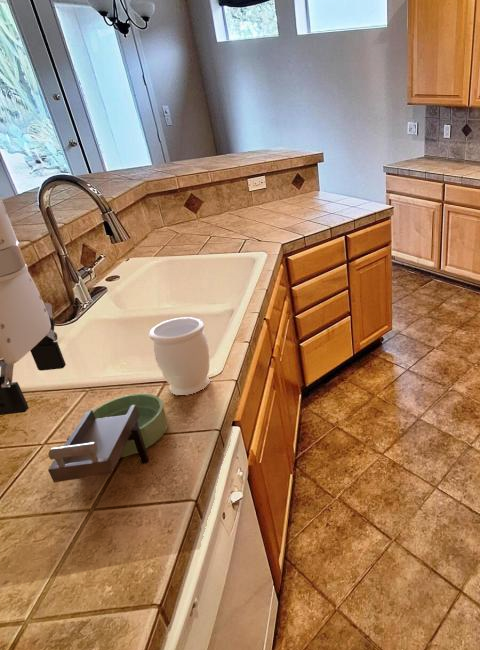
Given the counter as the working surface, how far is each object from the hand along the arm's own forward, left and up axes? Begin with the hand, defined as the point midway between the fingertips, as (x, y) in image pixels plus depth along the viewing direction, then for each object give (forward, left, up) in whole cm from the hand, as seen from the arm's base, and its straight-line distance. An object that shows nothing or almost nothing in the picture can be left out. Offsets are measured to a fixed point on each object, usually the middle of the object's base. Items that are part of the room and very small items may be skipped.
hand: (34, 388), depth 56 cm
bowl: (0, +19, -24) cm, 31 cm away
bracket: (0, +11, -24) cm, 27 cm away
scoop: (0, +9, -18) cm, 20 cm away
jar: (+8, +34, -24) cm, 43 cm away
